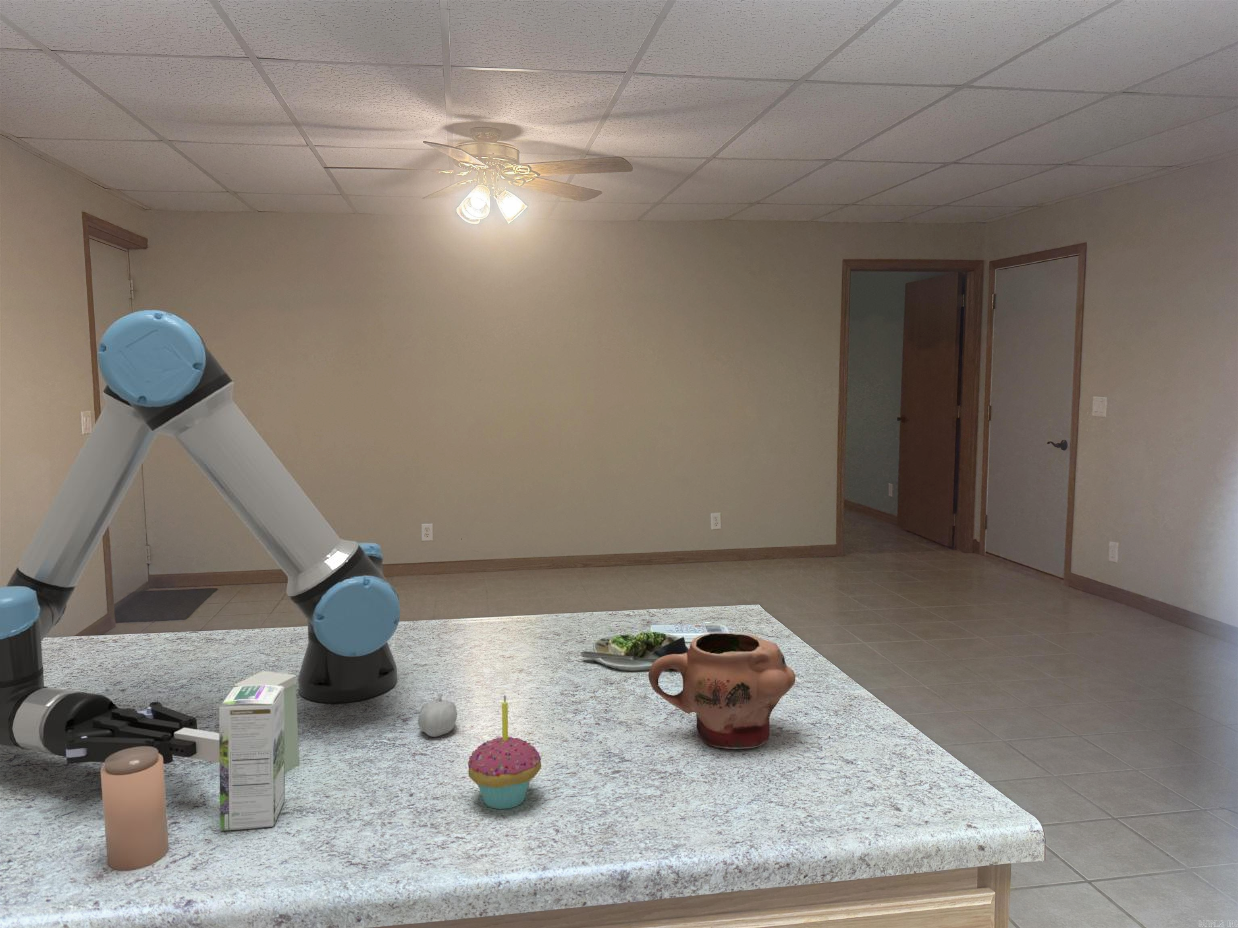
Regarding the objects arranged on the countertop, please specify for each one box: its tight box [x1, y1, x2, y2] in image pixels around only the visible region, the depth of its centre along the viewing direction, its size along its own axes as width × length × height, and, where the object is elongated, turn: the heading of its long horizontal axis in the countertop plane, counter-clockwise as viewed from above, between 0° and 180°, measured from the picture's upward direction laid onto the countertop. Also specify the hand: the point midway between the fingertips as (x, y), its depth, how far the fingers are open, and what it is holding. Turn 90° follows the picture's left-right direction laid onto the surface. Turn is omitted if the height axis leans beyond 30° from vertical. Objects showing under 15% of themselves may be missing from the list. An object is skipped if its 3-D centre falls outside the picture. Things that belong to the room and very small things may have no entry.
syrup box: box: [218, 685, 286, 831], centre depth 95 cm, size 6×6×14 cm
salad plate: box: [580, 631, 689, 672], centre depth 148 cm, size 19×18×5 cm
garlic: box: [417, 693, 458, 738], centre depth 118 cm, size 6×5×5 cm
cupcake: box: [467, 694, 542, 810], centre depth 99 cm, size 9×8×12 cm
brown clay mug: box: [648, 632, 796, 750], centre depth 115 cm, size 20×12×14 cm, turn 97°
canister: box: [100, 746, 170, 872], centre depth 88 cm, size 6×6×11 cm
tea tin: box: [232, 670, 300, 774], centre depth 106 cm, size 5×5×12 cm
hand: (225, 748), depth 96 cm, fingers closed
